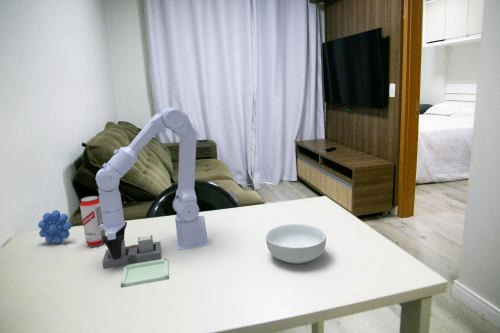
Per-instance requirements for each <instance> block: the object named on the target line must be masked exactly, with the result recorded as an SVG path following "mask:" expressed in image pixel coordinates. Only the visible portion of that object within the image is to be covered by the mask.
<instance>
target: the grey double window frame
mask: <svg viewBox="0 0 500 333" xmlns="http://www.w3.org/2000/svg"><path fill="white" fill-rule="evenodd" d="M153 246H154V251H153V252H147V253H139V246H138V244H131V245H128V246H125V247H126V254H127V256H122V257H121V258H119V259H113V258H110V253H109V249H108V248H107V249H105V253H104V255H103V259H102V262H101V263H102V269H103V270H104V269H110V268H117V267H123V266H126V265H132V264H138V263H144V262H150V261H156V260H162V247H161V246H162V245H161V241H153Z"/></svg>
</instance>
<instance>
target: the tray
mask: <svg viewBox="0 0 500 333" xmlns="http://www.w3.org/2000/svg"><path fill="white" fill-rule="evenodd" d="M123 266H124V267H123V271H122V276H121V280H120V288H126V287H130V286H137V285H142V284H148V283H153V282H154V283H155V282H159V281H165V280H169V279H170V275H169V259H168V258H161V259H159V260H153V261H147V262H141V263H135V264H129V265H123Z"/></svg>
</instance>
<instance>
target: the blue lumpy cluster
mask: <svg viewBox="0 0 500 333" xmlns="http://www.w3.org/2000/svg"><path fill="white" fill-rule="evenodd" d="M72 227H73V224H72V222H71V221H69V216H68V214H66V213H62V214H61V212H60V211H59V210H53V211H52V212H51V213H50V212H46V213H44V214H43V216H42V220H40V221H39V222H38V229H40V230H39V232H38V234H39V235H38V236H39V237H41V238H44V240H45V243H46V244H51V243H54V244H56V245H58V244H61V243H62V242H63V240H64V239H68V238H69V237H70V234H71V233H70V231H69V230H71V229H72Z"/></svg>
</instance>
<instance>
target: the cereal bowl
mask: <svg viewBox="0 0 500 333" xmlns="http://www.w3.org/2000/svg"><path fill="white" fill-rule="evenodd" d="M265 242H266V246H267V249H268V251H269V253H270V254H271V255H272V256H274V257H275V258H276V259H278V260H280V261H283V262H286V263H287V264H288V263H289V264H292V265H297V264H298V265H299V264H305V263H308V262H310V261H313V260H315V259H317V258H319V257H320V255H322V253H323V252H324V250H326V246H327V245H326V244H327V243H326V242H327V235H326V233H325V232H324V231H323V230H322V229H320V228H319V227H316V226H314V225H309V224H301V223H292V224H291V223H290V224H284V225H279V226H276V227H274V228H271V229H270V230H268V231H267V233H266V234H265Z"/></svg>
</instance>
